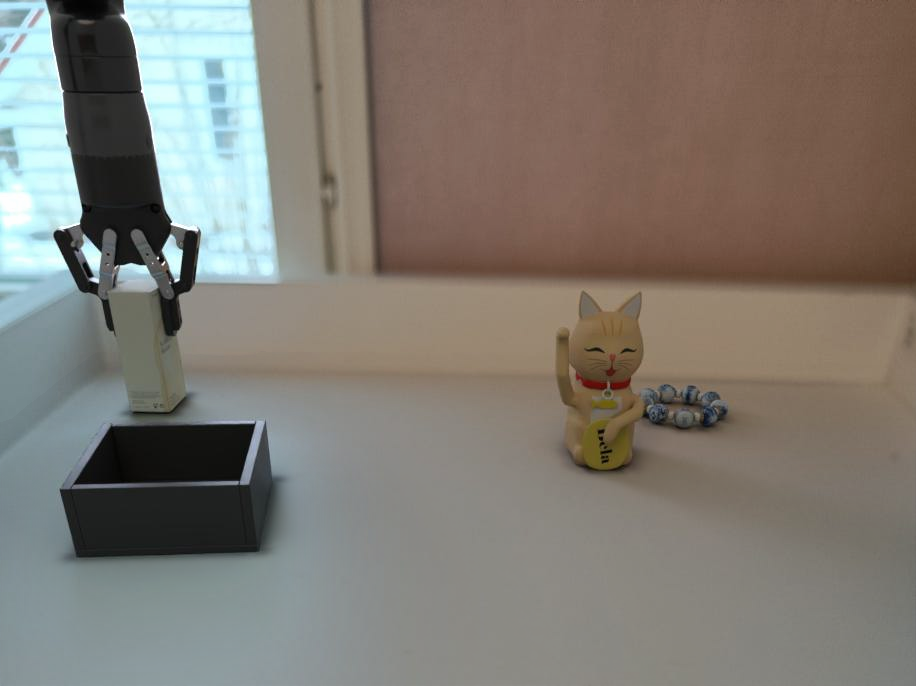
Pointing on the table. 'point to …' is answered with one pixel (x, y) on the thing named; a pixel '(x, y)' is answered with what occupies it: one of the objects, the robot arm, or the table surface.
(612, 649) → the table surface
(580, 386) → the figurine
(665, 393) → the bracelet
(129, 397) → the cosmetic box
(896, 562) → the table surface
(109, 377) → the table surface
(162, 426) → the dark grey open box
